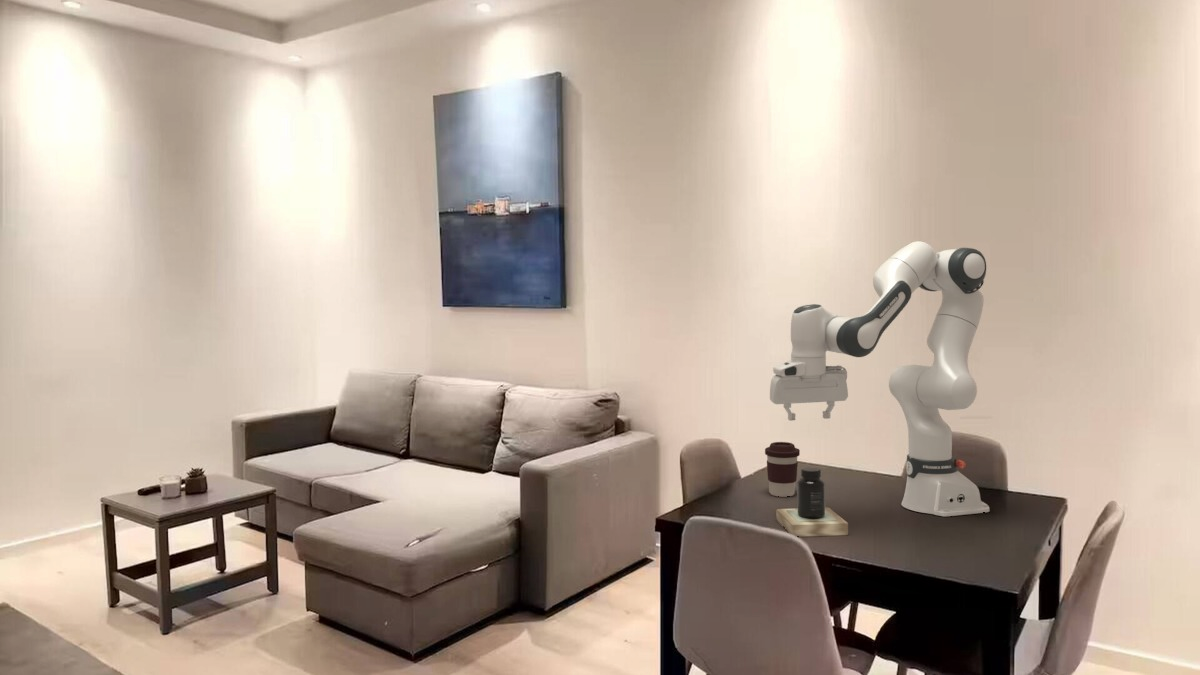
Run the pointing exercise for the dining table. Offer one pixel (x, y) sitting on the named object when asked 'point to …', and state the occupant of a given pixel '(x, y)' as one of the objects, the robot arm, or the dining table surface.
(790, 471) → the coffee cup
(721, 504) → the dining table surface
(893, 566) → the dining table surface
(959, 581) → the dining table surface
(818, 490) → the supplement bottle
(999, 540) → the dining table surface
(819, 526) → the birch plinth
